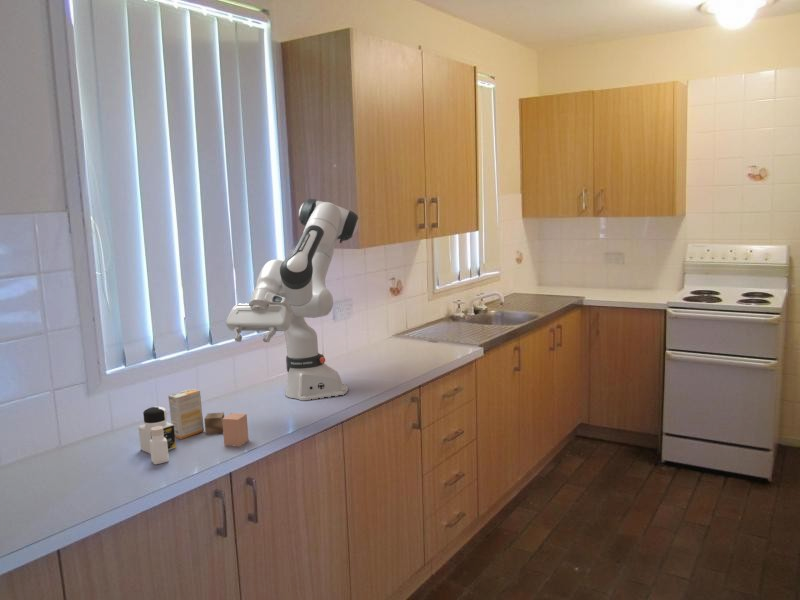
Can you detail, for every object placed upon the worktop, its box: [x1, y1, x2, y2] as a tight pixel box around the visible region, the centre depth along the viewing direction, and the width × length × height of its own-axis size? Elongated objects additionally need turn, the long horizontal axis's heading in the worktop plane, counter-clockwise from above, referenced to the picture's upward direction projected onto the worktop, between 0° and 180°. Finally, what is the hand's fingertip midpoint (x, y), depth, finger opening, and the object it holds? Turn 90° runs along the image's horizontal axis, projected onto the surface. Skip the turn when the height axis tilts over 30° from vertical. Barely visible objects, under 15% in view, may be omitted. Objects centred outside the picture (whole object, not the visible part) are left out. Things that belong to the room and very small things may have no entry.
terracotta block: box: [222, 412, 249, 447], centre depth 188 cm, size 5×5×8 cm
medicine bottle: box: [138, 406, 177, 455], centre depth 186 cm, size 7×7×12 cm
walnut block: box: [203, 411, 225, 435], centre depth 199 cm, size 5×5×5 cm
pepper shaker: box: [149, 426, 170, 465], centre depth 176 cm, size 4×4×10 cm
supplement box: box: [167, 388, 205, 440], centre depth 197 cm, size 8×5×13 cm, turn 141°
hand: (251, 341), depth 197 cm, fingers open, 8 cm apart
